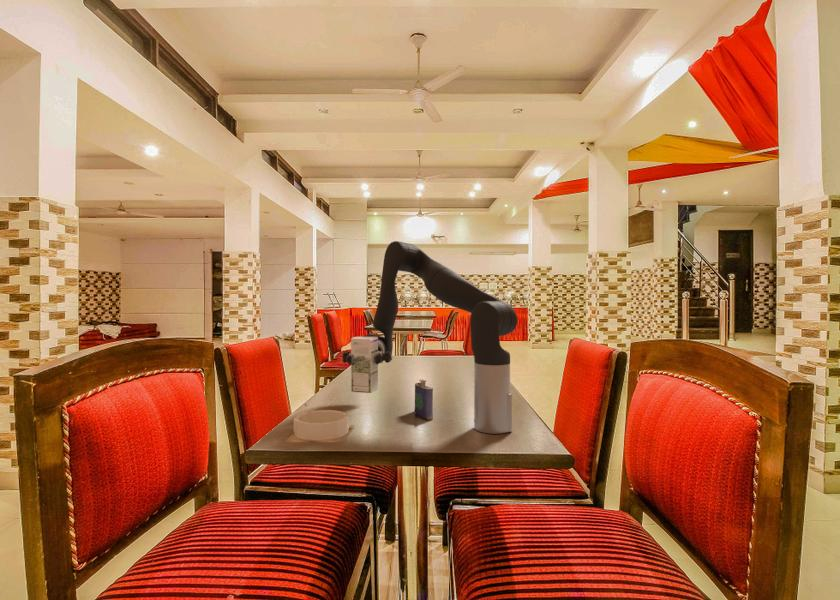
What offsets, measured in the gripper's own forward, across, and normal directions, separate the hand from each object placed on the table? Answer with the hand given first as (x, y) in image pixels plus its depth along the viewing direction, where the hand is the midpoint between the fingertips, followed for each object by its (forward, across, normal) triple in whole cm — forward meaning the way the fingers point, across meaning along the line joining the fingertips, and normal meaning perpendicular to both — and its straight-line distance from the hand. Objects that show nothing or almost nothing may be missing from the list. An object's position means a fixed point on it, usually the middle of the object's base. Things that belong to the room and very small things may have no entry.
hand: (363, 360), depth 117 cm
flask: (-11, +16, +18) cm, 26 cm away
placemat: (+7, -9, +18) cm, 21 cm away
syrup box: (-2, 0, +9) cm, 9 cm away
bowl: (+7, -9, +17) cm, 21 cm away
